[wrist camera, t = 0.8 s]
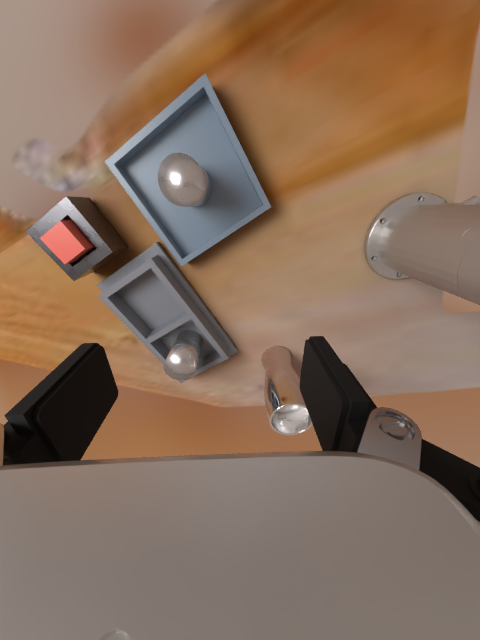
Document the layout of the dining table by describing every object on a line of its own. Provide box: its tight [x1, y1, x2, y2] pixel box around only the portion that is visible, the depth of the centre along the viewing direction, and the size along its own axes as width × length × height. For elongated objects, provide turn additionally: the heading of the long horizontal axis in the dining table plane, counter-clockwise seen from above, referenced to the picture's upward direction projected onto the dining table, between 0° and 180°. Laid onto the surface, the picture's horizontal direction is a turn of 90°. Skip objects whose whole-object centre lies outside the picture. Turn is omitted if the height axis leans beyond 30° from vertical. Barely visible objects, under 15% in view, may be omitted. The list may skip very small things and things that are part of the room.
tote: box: [105, 74, 271, 266], centre depth 31 cm, size 16×16×3 cm
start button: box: [40, 220, 96, 264], centre depth 31 cm, size 4×4×3 cm
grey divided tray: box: [97, 242, 238, 383], centre depth 40 cm, size 13×24×4 cm, turn 32°
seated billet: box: [164, 330, 203, 380], centre depth 40 cm, size 5×5×8 cm
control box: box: [26, 197, 128, 281], centre depth 33 cm, size 8×8×5 cm
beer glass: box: [262, 346, 313, 435], centre depth 40 cm, size 7×7×15 cm
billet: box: [158, 153, 212, 207], centre depth 28 cm, size 5×5×8 cm
